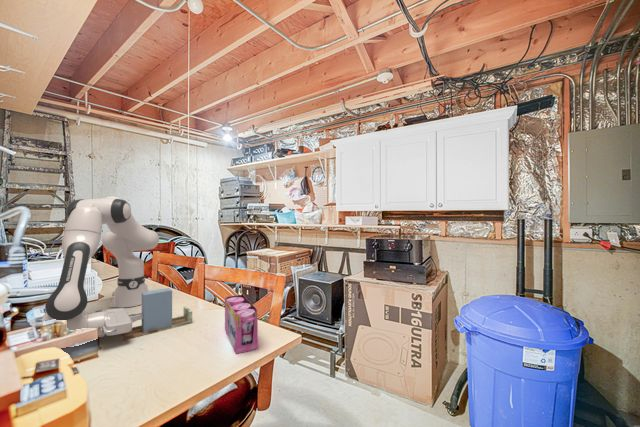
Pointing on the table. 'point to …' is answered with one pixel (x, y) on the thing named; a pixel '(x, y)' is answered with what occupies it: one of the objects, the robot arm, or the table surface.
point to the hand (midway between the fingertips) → (142, 315)
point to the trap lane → (175, 323)
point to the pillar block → (156, 309)
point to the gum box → (241, 323)
